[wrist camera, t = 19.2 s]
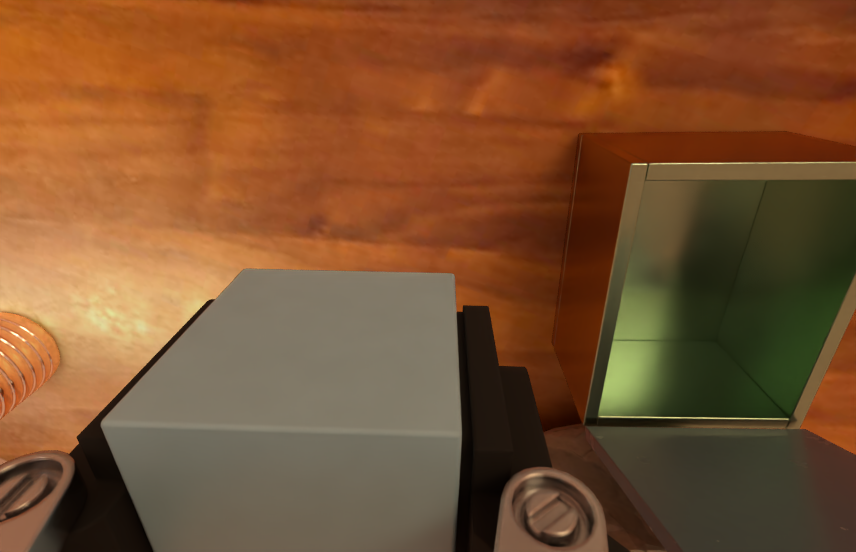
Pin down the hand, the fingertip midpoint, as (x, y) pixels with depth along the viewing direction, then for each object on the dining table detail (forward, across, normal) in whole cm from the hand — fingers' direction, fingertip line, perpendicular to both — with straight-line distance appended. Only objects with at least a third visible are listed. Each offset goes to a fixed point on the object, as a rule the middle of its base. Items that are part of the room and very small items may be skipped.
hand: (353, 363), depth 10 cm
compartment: (+21, -17, +6) cm, 28 cm away
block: (0, 0, 0) cm, 0 cm away
